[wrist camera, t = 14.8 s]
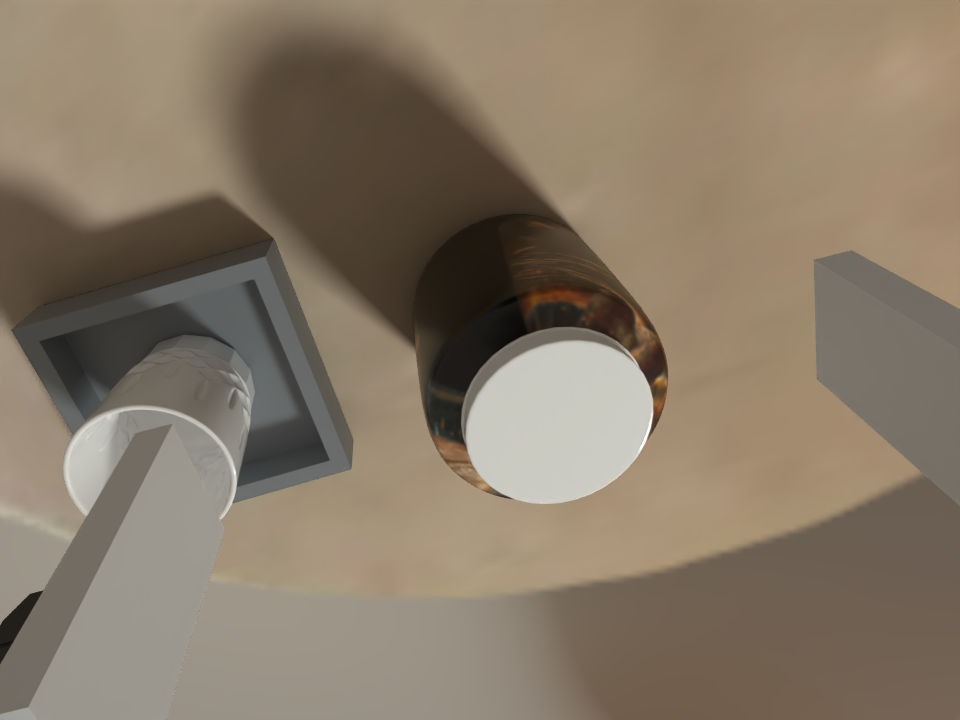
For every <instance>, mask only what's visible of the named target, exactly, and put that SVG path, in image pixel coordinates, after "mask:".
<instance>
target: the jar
mask: <svg viewBox="0 0 960 720" xmlns="http://www.w3.org/2000/svg"><path fill="white" fill-rule="evenodd" d="M413 323H414V336H415V347H416V357H417V366H418V375H419V383H420V391H421V398H422V405H423V409H424V414H425V418H426V423H427V427H428V430H429V433H430V435H431V438H432V440H433V442H434V444H435V446H436V449H437V450H438V452H439V454H440V455H441V457H442V458H443V460H444V461H445V462H446V464H447V465H448V466H449V467H450V468H451V469H452V470H453V471H454V472H455V473H456V474H457V475H459V476H460V477H461V478H463V479H464V480H465V481H467V482H468V483H470V484H471V485H473V486H475V487H476V488H479V489H481V490H483V491H485V492H487V493H490V494H493V495H496V496H500V497H503V498H508V499H515V500H520V501H524V502H528V503H538V504H550V503H561V502H566V501H571V500H575V499H578V498H581V497H584V496H587V495H589V494H591V493H593V492H595V491H597V490H599V489H601V488H603V487H605V486H606V485H608V484H609V483H611V482H612V481H613V480H615V479H616V478H618V477H619V476H620V475H621V474H622V473H623V472H624V471H625V470H626V469H627V468H628V467H629V466H630V465H631V464H632V462H633V461H634V460H635V459H636V457H637V456H638V455H639V453H640V451H641V450H642V448H643V446H644V444H645V443H646V442H647V440H648V439H649V437H650V436H651V434H652V432H653V431H654V429H655V427H656V425H657V423H658V421H659V418H660V416H661V413H662V410H663V407H664V403H665V399H666V394H667V386H668V366H667V360H666V355H665V352H664V348H663V346H662V343H661V341H660V338H659V336H658V334H657V332H656V330H655V328H654V326H653V324H652V323H651V321H650V320H649V318H648V317H647V316H646V314H645V313H644V311H643V310H642V308H641V307H640V306H639V304H638V303H637V302H636V301H635V299H634V298H633V297H632V296H631V294H630V293H629V292H628V291H627V290H626V288H625V287H624V286H623V285H622V284H621V283H620V281H619V280H618V279H617V278H616V277H615V275H614V274H613V273H612V272H611V271H610V270H609V269H608V267H607V266H606V265H605V264H604V263H603V262H602V261H601V259H600V258H599V257H598V256H597V255H596V254H595V253H594V252H593V251H592V250H591V248H590V247H589V246H588V245H587V244H586V243H585V242H584V241H583V240H582V239H581V238H580V237H579V236H577V235H576V234H575V233H574V232H572V231H571V230H569V229H568V228H566V227H565V226H563V225H561V224H559V223H557V222H555V221H552V220H550V219H546V218H543V217H539V216H534V215H525V214H512V215H502V216H497V217H493V218H489V219H486V220H483V221H480V222H478V223H475V224H473V225H471V226H469V227H467V228H465V229H464V230H462V231H460V232H459V233H457V234H456V235H455V236H453V237H452V238H451V239H449V240H448V241H447V242H446V243H445V244H444V245H443V246H442V247H441V248H440V249H439V250H438V251H437V252H436V254H435V255H434V256H433V257H432V259H431V260H430V262H429V263H428V265H427V266H426V268H425V270H424V272H423V274H422V276H421V278H420V281H419V283H418V286H417V290H416V294H415V299H414V307H413Z"/></svg>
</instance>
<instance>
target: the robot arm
mask: <svg viewBox="0 0 960 720" xmlns="http://www.w3.org/2000/svg"><path fill="white" fill-rule="evenodd" d="M814 280H815V322H816V363H817V380H819V381H820V382H821V383H822V384H823V385H824V386H825V387H826V388H828V389H829V390H830V391H831V392H832V393H833V394H834V395H835V396H837V397H838V398H839V399H840V400H841V401H842V402H843V403H845V404H846V405H847V406H848V407H849V408H850V409H851V410H852V411H854V412H855V413H856V414H857V415H858V416H859V417H860V418H861V419H863V420H864V421H865V422H866V423H867V424H868V425H869V426H870V427H872V428H873V429H874V430H875V431H876V432H877V433H878V434H879V435H881V436H882V437H883V438H884V439H885V440H886V441H887V442H888V443H890V444H891V445H892V446H893V447H894V448H895V449H896V450H897V451H899V452H900V453H901V454H902V455H903V456H904V457H905V458H906V459H908V460H909V461H910V462H911V463H912V464H913V465H914V466H916V467H917V468H918V469H919V470H920V471H921V472H922V473H923V474H925V475H926V476H927V477H928V478H929V479H930V480H931V481H932V482H934V483H935V484H936V485H937V486H938V487H939V488H940V489H941V490H943V491H944V492H945V493H946V494H947V495H948V496H949V497H950V498H952V499H953V500H954V501H955V502H956V503H957V504H958V505H959V506H960V309H958V308H957V307H955V306H953V305H951V304H949V303H947V302H946V301H944V300H942V299H940V298H938V297H936V296H934V295H933V294H931V293H929V292H927V291H925V290H923V289H922V288H920V287H918V286H916V285H914V284H912V283H911V282H909V281H907V280H905V279H903V278H901V277H900V276H898V275H896V274H894V273H892V272H890V271H888V270H887V269H885V268H883V267H881V266H879V265H877V264H876V263H874V262H872V261H870V260H868V259H866V258H865V257H863V256H861V255H859V254H857V253H855V252H853V251H852V250H851V251H847V252H843V253H839V254H835V255H832V256H828V257H824V258H820V259H816V260H814ZM224 531H225V529H224V527H223V525H222V523H221V521H220V519H219V517H218V515H217V513H216V511H215V509H214V507H213V505H212V503H211V501H210V499H209V497H208V494H207V492H206V490H205V488H204V486H203V484H202V482H201V480H200V478H199V476H198V474H197V472H196V470H195V468H194V466H193V464H192V462H191V460H190V458H189V456H188V454H187V451H186V449H185V447H184V445H183V443H182V441H181V439H180V437H179V435H178V433H177V431H176V429H175V427H174V425H173V424H169V425H165V426H161V427H157V428H153V429H149V430H145V431H141V432H138V433H135V435H134V436H133V438H132V440H131V442H130V443H129V445H128V447H127V448H126V450H125V452H124V454H123V455H122V457H121V459H120V460H119V462H118V464H117V465H116V467H115V469H114V471H113V472H112V474H111V476H110V477H109V479H108V481H107V483H106V484H105V486H104V488H103V489H102V491H101V493H100V495H99V496H98V498H97V500H96V501H95V503H94V505H93V507H92V508H91V510H90V512H89V513H88V515H87V517H86V519H85V520H84V522H83V524H82V525H81V527H80V529H79V531H78V532H77V534H76V536H75V537H74V539H73V541H72V543H71V544H70V546H69V548H68V549H67V551H66V553H65V554H64V556H63V558H62V560H61V561H60V563H59V565H58V567H57V568H56V570H55V572H54V573H53V575H52V577H51V579H50V580H49V582H48V584H47V585H46V587H45V589H44V590H43V591H40V592H36V593H32V594H30V595H29V596H28V597H27V598H25V599H24V600H23V601H22V602H21V604H19V605H18V606H17V608H16V609H14V611H12V612H11V613H10V614H9V615H8V616H7V617H6V618H5V619H4V620H3V622H2V623H1V625H0V720H166V718H167V715H168V712H169V709H170V705H171V702H172V699H173V696H174V693H175V689H176V686H177V683H178V680H179V676H180V673H181V670H182V667H183V663H184V660H185V657H186V654H187V650H188V647H189V644H190V641H191V638H192V634H193V631H194V628H195V624H196V621H197V618H198V615H199V612H200V608H201V605H202V602H203V599H204V595H205V592H206V589H207V586H208V583H209V579H210V576H211V573H212V570H213V566H214V563H215V560H216V557H217V553H218V550H219V547H220V544H221V541H222V537H223V534H224Z"/></svg>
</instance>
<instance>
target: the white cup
mask: <svg viewBox="0 0 960 720" xmlns="http://www.w3.org/2000/svg"><path fill="white" fill-rule="evenodd" d="M254 395H255V388H254V384H253V379H252V374H251V370H250V368H249V367H248V365H247V364H246V363H245V362H244V361H243V359H242V358H241V357H240V356H239V354H238V353H237V352H236V351H235V350H234V349H233V348H231V347H229V346H227V345H225V344H223V343H221V342H219V341H218V340H216V339H214V338H212V337H206V336H196V335H185V334H183V335H180V336H177V337H174V338H171V339H168V340H165V341H161V342H159V343H158V344H157V345H156V346H155V347H154V348H153V349H152V350H151V351H150V352H149V353H148V354H147V355H146V356H145V357H144V358H143V359H142V360H141V361H140V362H139V363H138V364H137V365H135V366H134V367H132V368H131V369H130V371H129V372H128V373H127V374H126V375H125V376H124V377H123V378H122V379H121V380H120V381H119V382H118V383H117V384H116V386H115V387H114V388H113V389H112V390H111V391H110V393H109V394H108V395H107V396H106V397H105V399H104V400H103V401H102V402H101V403H100V404H99V406H98V407H97V408H96V409H95V410H94V412H93V413H92V414H91V415H90V416H89V417H88V419H87V420H86V421H85V422H84V423H83V424H82V426H81V427H80V428H79V429H78V430H77V431H76V433H75V434H74V435H73V437H72V438H71V440H70V442H69V443H68V446H67V448H66V451H65V454H64V459H63V477H64V482H65V485H66V488H67V491H68V493H69V495H70V497H71V499H72V500H73V502H74V504H75V505H76V506H77V508H78V509H79V510H80V511H81V512H82V513H83V514H84V515H85V516H86V517H87V515H88V513H89V512H90V510H91V508H92V507H93V505H94V503H95V501H96V500H97V498H98V496H99V495H100V493H101V491H102V489H103V488H104V486H105V484H106V483H107V481H108V479H109V477H110V476H111V474H112V472H113V471H114V469H115V467H116V465H117V464H118V462H119V460H120V459H121V457H122V455H123V454H124V452H125V450H126V448H127V447H128V445H129V443H130V442H131V440H132V438H133V436H134V435H135V433H138V432H141V431H145V430H149V429H153V428H157V427H161V426H165V425H169V424H173V425H174V427H175V429H176V431H177V433H178V435H179V437H180V439H181V441H182V443H183V445H184V447H185V449H186V451H187V454H188V456H189V458H190V460H191V462H192V464H193V466H194V468H195V470H196V472H197V474H198V476H199V478H200V480H201V482H202V484H203V486H204V488H205V490H206V492H207V494H208V497H209V499H210V501H211V503H212V505H213V507H214V509H215V511H216V513H217V515H218V517H219V519H220V520H221V519H222V518H223V517H224V515H225V514H226V513H227V511H228V510H229V508H230V506H231V504H232V502H233V499H234V496H235V493H236V488H237V483H238V479H239V474H240V469H241V465H242V461H243V456H244V452H245V447H246V443H247V439H248V432H249V427H250V421H251V407H252V403H253V399H254Z"/></svg>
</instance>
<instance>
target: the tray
mask: <svg viewBox="0 0 960 720" xmlns="http://www.w3.org/2000/svg"><path fill="white" fill-rule="evenodd" d="M12 332H13V333H14V335H15V337H16V339H17V340H18V342H19V344H20V345H21V347H22V349H23V350H24V352H25V354H26V355H27V357H28V359H29V361H30V362H31V364H32V366H33V367H34V369H35V371H36V372H37V374H38V376H39V377H40V379H41V381H42V383H43V384H44V386H45V388H46V389H47V391H48V393H49V394H50V396H51V398H52V399H53V401H54V403H55V405H56V406H57V408H58V410H59V411H60V413H61V415H62V416H63V418H64V420H65V421H66V423H67V425H68V427H69V428H70V430H71V432H72V433H73V435H74V434H75V433H76V431H77V430H78V429H79V428H80V427H81V426H82V424H83V423H84V422H85V421H86V420H87V419H88V417H89V416H90V415H91V414H92V413H93V412H94V410H95V409H96V408H97V407H98V406H99V404H100V403H101V402H102V401H103V400H104V399H105V397H106V396H107V395H108V394H109V393H110V391H111V390H112V389H113V388H114V387H115V386H116V384H117V383H118V382H119V381H120V380H121V379H122V378H123V377H124V376H125V375H126V374H127V373H128V372H129V371H130V369H131V368H132V367H134V366H135V365H137V364H138V363H139V362H140V361H141V360H142V359H143V358H144V357H145V356H146V355H147V354H148V353H149V352H150V351H151V350H152V349H153V348H154V347H155V346H156V345H157V344H158V343H159V342H161V341H165V340H168V339H171V338H174V337H177V336H180V335H183V334H185V335H196V336H206V337H212V338H214V339H216V340H218V341H219V342H221V343H223V344H225V345H227V346H229V347H231V348H233V349H234V350H235V351H236V352H237V353H238V354H239V356H240V357H241V358H242V359H243V361H244V362H245V363H246V364H247V365H248V367H249V368H250V370H251V374H252V379H253V384H254V388H255V395H254V399H253V403H252V407H251V421H250V427H249V432H248V439H247V443H246V447H245V452H244V456H243V461H242V465H241V469H240V474H239V479H238V483H237V488H236V493H235V496H234V499H233V502H232V503H236V502H239V501H242V500H246V499H249V498H253V497H256V496H260V495H263V494H267V493H270V492H274V491H277V490H281V489H284V488H288V487H291V486H295V485H298V484H302V483H305V482H309V481H312V480H315V479H319V478H322V477H326V476H329V475H333V474H336V473H340V472H343V471H347V470H350V469H351V467H352V453H353V437H352V435H351V432H350V430H349V427H348V425H347V422H346V420H345V417H344V415H343V412H342V410H341V407H340V405H339V402H338V399H337V397H336V394H335V392H334V389H333V387H332V384H331V382H330V379H329V377H328V374H327V372H326V369H325V367H324V364H323V362H322V359H321V356H320V354H319V351H318V349H317V346H316V344H315V341H314V339H313V336H312V334H311V331H310V329H309V326H308V324H307V321H306V319H305V316H304V314H303V311H302V308H301V306H300V303H299V301H298V298H297V296H296V293H295V291H294V288H293V286H292V283H291V281H290V278H289V276H288V273H287V271H286V268H285V265H284V263H283V260H282V258H281V255H280V253H279V250H278V248H277V245H276V243H275V240H274V239H271V240H268V241H264V242H261V243H257V244H254V245H250V246H247V247H244V248H240V249H237V250H233V251H230V252H226V253H223V254H219V255H216V256H212V257H209V258H206V259H202V260H199V261H195V262H192V263H188V264H185V265H181V266H178V267H174V268H171V269H167V270H164V271H161V272H157V273H154V274H150V275H147V276H143V277H140V278H136V279H133V280H129V281H126V282H122V283H119V284H116V285H112V286H109V287H105V288H102V289H98V290H95V291H91V292H88V293H84V294H81V295H77V296H74V297H71V298H67V299H64V300H60V301H57V302H53V303H50V304H46V305H43V306H39V307H38V308H37V309H36V310H34V311H33V312H32V313H31V314H30V315H28V316H27V317H26V318H25V319H24V320H23V321H21V322H20V323H19V324H18V325H17V326H15V327H14V328H13V329H12Z"/></svg>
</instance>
